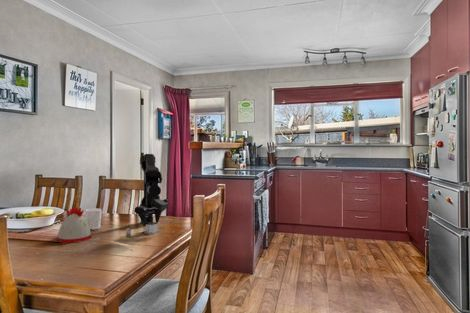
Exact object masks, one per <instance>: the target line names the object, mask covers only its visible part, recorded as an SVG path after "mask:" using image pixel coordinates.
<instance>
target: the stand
mask: <svg viewBox="0 0 470 313" xmlns="http://www.w3.org/2000/svg"><path fill="white" fill-rule="evenodd" d="M149 224H153V223H149ZM160 232H161V231H160V230H157V233H153V234H150V235H151V236H153V235H154V234H158V233H160ZM140 233H141V234H145V235H146V234H147V235H149V234H148V233H145V230H144V231H141V232H140Z"/></svg>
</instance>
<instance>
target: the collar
mask: <svg viewBox="0 0 470 313" xmlns="http://www.w3.org/2000/svg"><path fill="white" fill-rule="evenodd" d="M149 223H153V224H149ZM144 231H145V233H148V234H147V235H151V234H152V235H154V234H153V233H155V234H158V233H157V231H158V223H157V222H156V221H153V222H147V223H146V226H144ZM145 233H144V234H145Z"/></svg>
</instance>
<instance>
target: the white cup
mask: <svg viewBox="0 0 470 313" xmlns="http://www.w3.org/2000/svg"><path fill="white" fill-rule="evenodd" d="M102 211H103V209H102V208H87V209H85V219H86V221H87V222H88V223H89V228H90V229H92V230H91V231H94V230H99V229H101V222H102Z"/></svg>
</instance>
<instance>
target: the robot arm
mask: <svg viewBox="0 0 470 313" xmlns="http://www.w3.org/2000/svg"><path fill="white" fill-rule="evenodd" d="M139 165H140V169H141V170H142V172H143V198H142V199H141V200H140V203H139V205H138V206H135V207H134V213H135V214H136V215H137V216H138V217H139V219H140V224H142V225H143V227H145V226H146V223H147V222H154V219H155V222H156V223H157V224H158V223H159V221H160V218H161V216H162V213H163V212H164V211H166V209H168V207H169V203H170V202H169V199H167V198H164V199H161V196H160V195H161V193H162V189H161V187H160V186H159V184H162V182H163V177H162V176H163V175H162V173H161V171H160V169H159V167H157V166H156V156H155V154H153V153H145V154H144V155H141V156H140V158H139Z"/></svg>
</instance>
